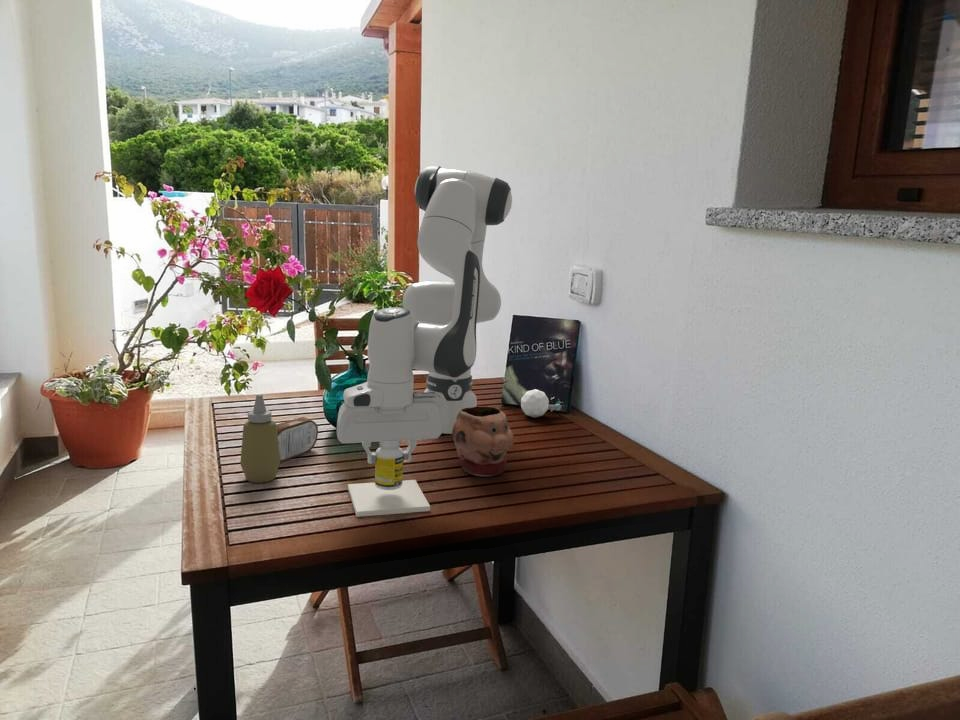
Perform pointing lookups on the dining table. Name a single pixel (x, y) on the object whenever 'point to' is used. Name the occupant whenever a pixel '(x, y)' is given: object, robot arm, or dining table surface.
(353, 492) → the tile
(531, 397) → the perfume bottle
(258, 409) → the squeeze bottle
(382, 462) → the supplement bottle
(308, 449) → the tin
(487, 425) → the decorative planter
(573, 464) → the dining table surface
